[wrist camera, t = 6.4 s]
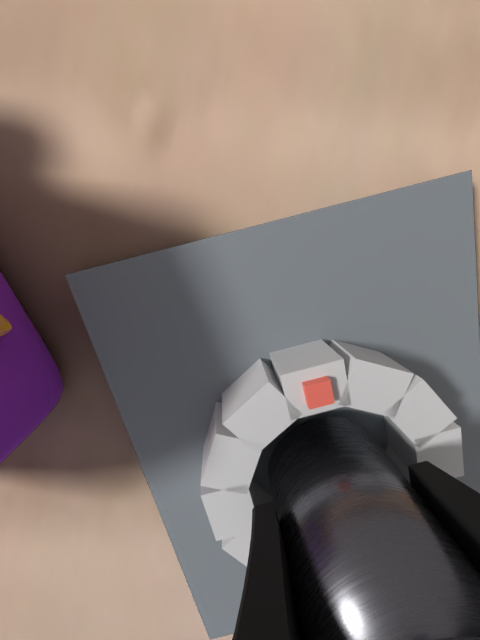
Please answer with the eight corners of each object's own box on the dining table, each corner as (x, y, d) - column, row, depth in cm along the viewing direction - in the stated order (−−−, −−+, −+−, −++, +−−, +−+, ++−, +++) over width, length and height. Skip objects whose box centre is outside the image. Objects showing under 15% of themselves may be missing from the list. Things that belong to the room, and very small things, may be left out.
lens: (392, 488, 12) (577, 755, 6) (291, 527, 12) (362, 825, 6) (362, 399, 11) (553, 612, 5) (251, 443, 11) (288, 704, 5)
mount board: (469, 541, 15) (539, 623, 12) (210, 610, 15) (208, 712, 12) (445, 178, 11) (545, 146, 8) (81, 271, 11) (19, 282, 8)
